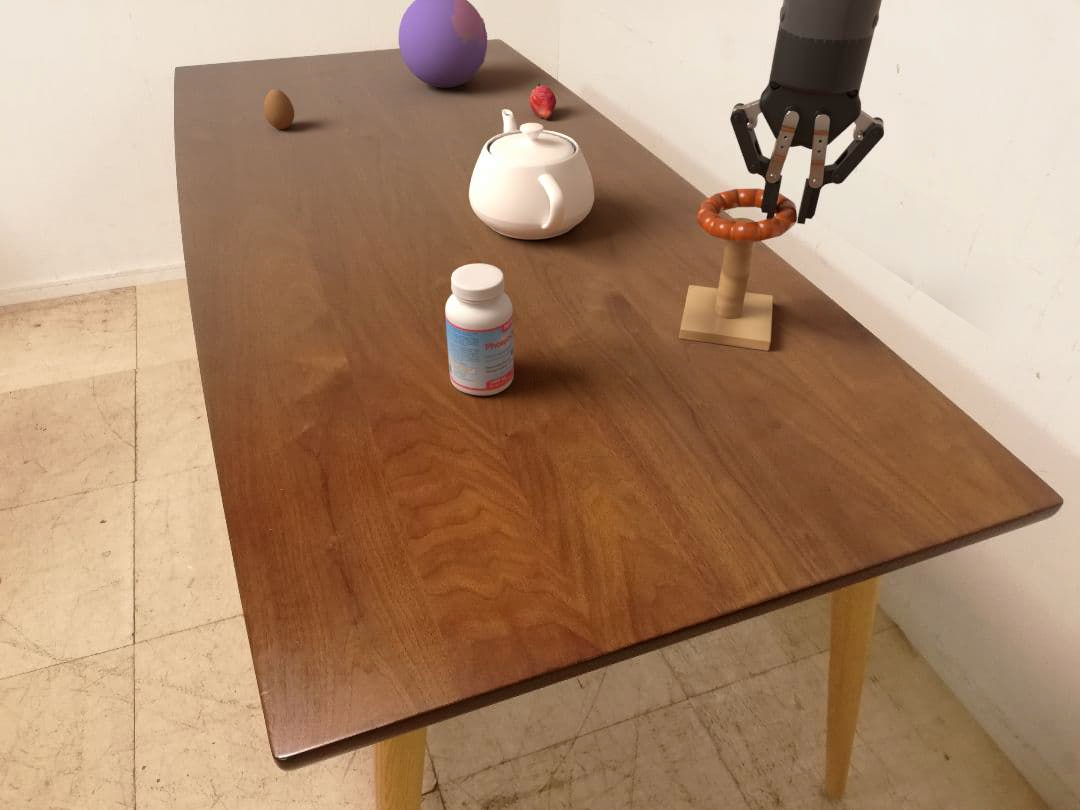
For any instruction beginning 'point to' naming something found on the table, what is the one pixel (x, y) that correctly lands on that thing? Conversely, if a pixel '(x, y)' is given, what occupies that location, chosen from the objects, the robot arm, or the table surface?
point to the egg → (278, 109)
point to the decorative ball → (443, 41)
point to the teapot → (531, 182)
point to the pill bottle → (479, 331)
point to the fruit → (542, 101)
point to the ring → (745, 230)
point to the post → (729, 305)
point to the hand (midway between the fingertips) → (785, 217)
